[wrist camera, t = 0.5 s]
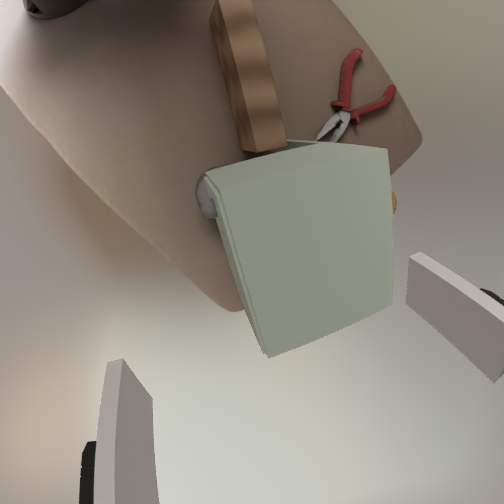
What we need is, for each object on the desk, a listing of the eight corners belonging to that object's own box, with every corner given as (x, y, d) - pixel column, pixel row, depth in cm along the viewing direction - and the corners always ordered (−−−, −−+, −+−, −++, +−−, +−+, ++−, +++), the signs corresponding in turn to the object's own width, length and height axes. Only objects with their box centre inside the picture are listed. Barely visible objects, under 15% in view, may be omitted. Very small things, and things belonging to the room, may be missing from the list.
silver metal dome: (190, 175, 41) (191, 178, 37) (235, 161, 42) (240, 163, 38) (203, 218, 44) (205, 225, 40) (246, 204, 45) (252, 210, 41)
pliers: (290, 126, 42) (297, 125, 40) (351, 47, 38) (360, 44, 36) (339, 168, 47) (347, 170, 44) (392, 90, 43) (401, 89, 41)
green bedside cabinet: (187, 165, 40) (198, 196, 19) (285, 139, 42) (387, 148, 21) (216, 260, 47) (253, 363, 25) (303, 232, 49) (392, 304, 27)
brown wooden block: (209, 20, 32) (217, -5, 24) (234, 16, 33) (248, -8, 24) (241, 149, 41) (257, 152, 33) (266, 143, 42) (287, 145, 34)
